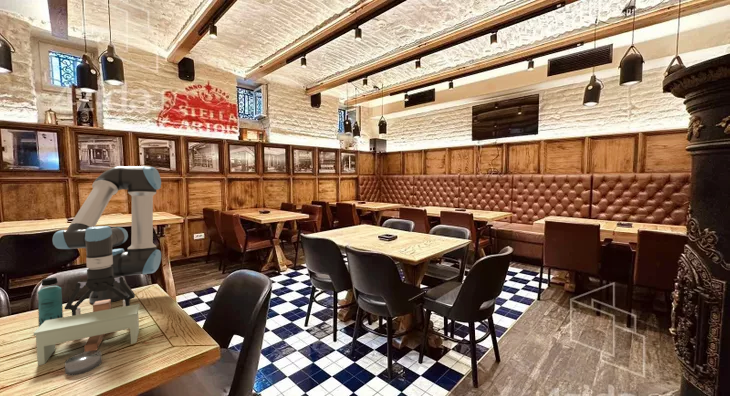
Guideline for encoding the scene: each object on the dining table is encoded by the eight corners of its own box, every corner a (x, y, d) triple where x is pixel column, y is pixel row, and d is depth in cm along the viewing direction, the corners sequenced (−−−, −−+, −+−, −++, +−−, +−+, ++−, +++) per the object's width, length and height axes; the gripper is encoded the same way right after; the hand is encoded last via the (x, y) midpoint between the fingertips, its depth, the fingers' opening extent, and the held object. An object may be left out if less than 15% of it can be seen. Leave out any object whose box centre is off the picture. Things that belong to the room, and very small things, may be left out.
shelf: (47, 350, 99) (45, 320, 99) (140, 330, 113) (139, 303, 112) (35, 366, 91) (33, 333, 90) (138, 342, 104) (136, 313, 104)
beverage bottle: (39, 330, 113) (36, 278, 112) (63, 324, 118) (61, 274, 117) (38, 336, 108) (35, 282, 108) (64, 329, 113) (61, 278, 112)
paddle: (96, 326, 116) (95, 301, 115) (111, 323, 118) (110, 299, 118) (81, 354, 97) (80, 324, 96) (99, 350, 99) (98, 320, 99)
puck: (70, 364, 92) (70, 354, 91) (104, 356, 96) (104, 347, 96) (60, 379, 85) (60, 369, 85) (97, 370, 89) (97, 360, 89)
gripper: (50, 274, 104) (54, 334, 105) (139, 264, 118) (142, 316, 119) (57, 269, 110) (60, 325, 111) (141, 260, 124) (143, 310, 125)
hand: (102, 321), depth 115 cm, fingers open, 13 cm apart
